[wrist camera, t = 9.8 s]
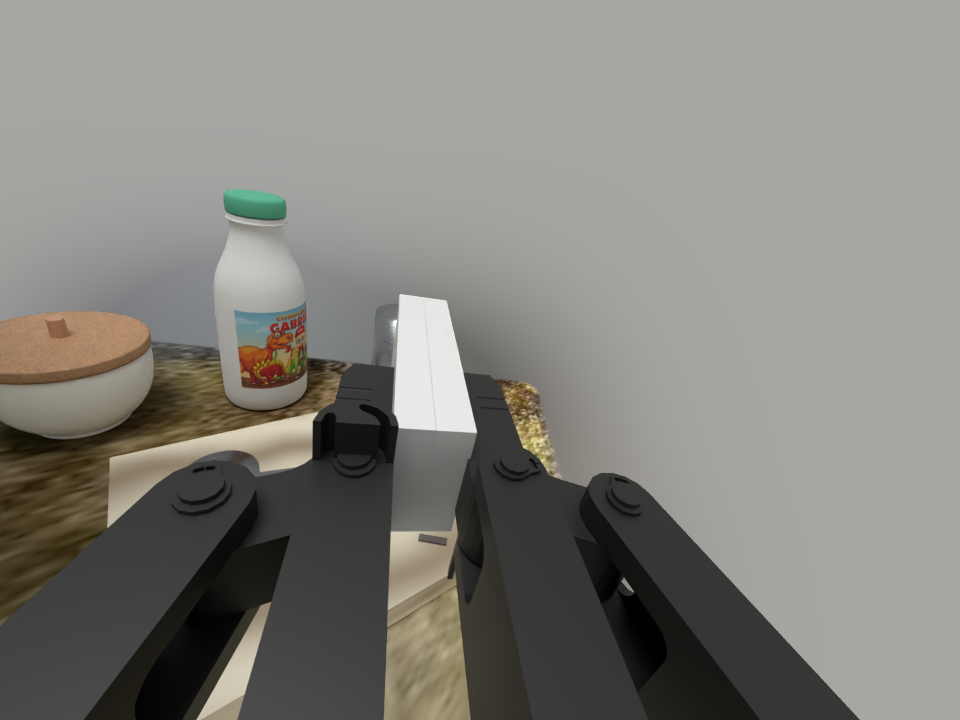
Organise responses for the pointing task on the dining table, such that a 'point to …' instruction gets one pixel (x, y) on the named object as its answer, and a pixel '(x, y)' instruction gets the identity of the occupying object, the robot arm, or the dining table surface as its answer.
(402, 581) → the dial board
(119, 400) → the lidded jar
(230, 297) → the milk bottle
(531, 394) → the dining table surface
